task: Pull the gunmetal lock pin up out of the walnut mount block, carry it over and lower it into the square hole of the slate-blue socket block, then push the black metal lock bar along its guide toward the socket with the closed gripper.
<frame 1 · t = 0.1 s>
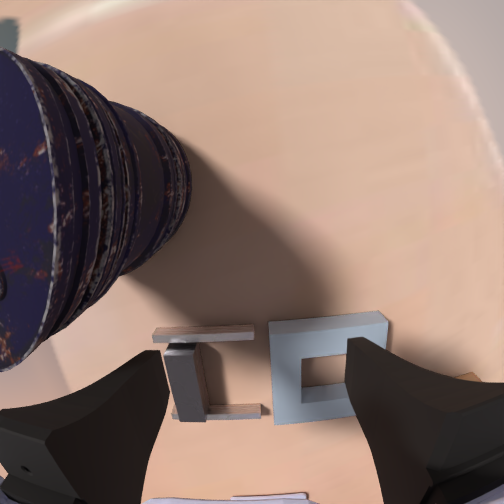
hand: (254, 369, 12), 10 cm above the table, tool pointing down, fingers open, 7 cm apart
socket block: (324, 364, 23), on the table
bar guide: (210, 372, 23), on the table
lock bar: (188, 381, 22), point 1 cm above the table, slide at 0.0 cm
storage jar: (123, 186, 20), on the table
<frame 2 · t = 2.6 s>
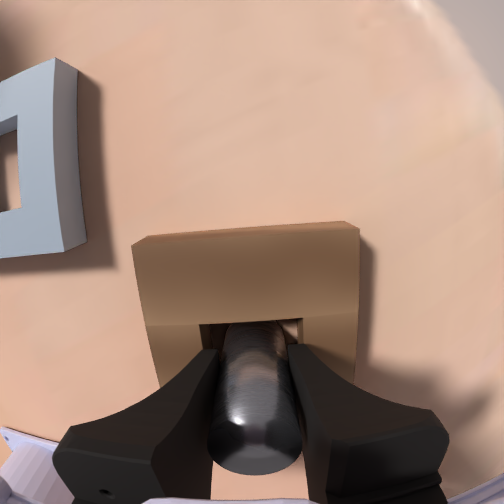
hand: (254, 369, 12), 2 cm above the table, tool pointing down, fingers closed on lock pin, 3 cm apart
socket block: (15, 169, 12), on the table
mount block: (254, 341, 14), on the table
lock pin: (254, 383, 11), in the mount block, touching gripper
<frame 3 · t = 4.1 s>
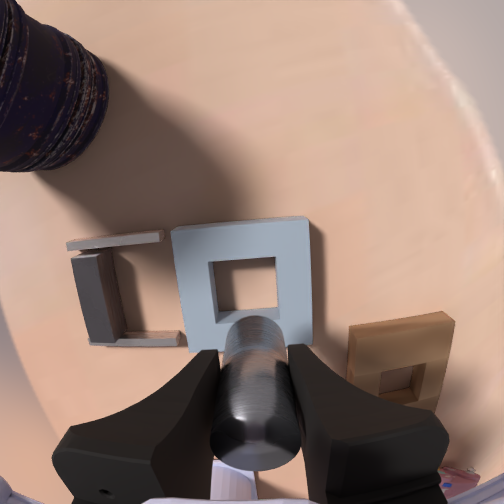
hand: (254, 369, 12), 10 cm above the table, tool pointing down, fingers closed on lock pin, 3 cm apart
socket block: (245, 281, 21), on the table
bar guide: (125, 289, 22), on the table
mount block: (392, 373, 23), on the table
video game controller: (433, 468, 27), on the table
lock bar: (99, 295, 20), point 1 cm above the table, slide at 0.0 cm
lock pin: (255, 382, 11), point 10 cm above the table, touching gripper
storage jar: (55, 107, 19), on the table
when the fingers open (3 cm above the table, at t = 5.7 s): lock pin stays where it is, resting in socket block.
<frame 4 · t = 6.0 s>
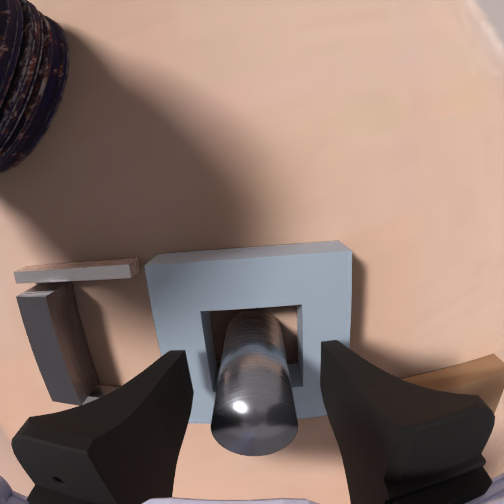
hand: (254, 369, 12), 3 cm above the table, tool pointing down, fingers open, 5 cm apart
socket block: (254, 331, 15), on the table
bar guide: (92, 334, 15), on the table
mount block: (429, 427, 17), on the table
lock bar: (58, 343, 14), point 1 cm above the table, slide at 0.0 cm
lock pin: (254, 372, 12), in the socket block
storage jar: (5, 91, 12), on the table
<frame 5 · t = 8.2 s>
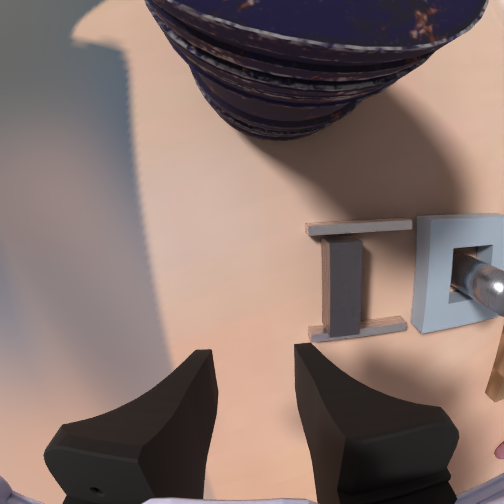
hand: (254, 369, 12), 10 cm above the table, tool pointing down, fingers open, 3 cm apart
socket block: (457, 266, 21), on the table
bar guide: (357, 277, 21), on the table
lock bar: (341, 285, 20), point 1 cm above the table, slide at 0.0 cm
lock pin: (480, 281, 18), in the socket block
storage jar: (276, 70, 18), on the table
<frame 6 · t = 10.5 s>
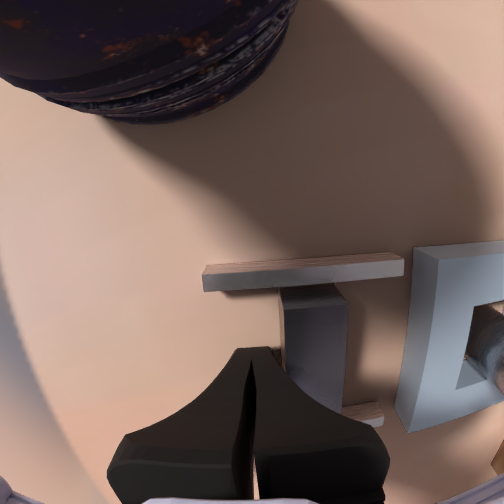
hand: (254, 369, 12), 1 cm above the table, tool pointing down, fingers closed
socket block: (474, 324, 12), on the table
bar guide: (304, 352, 13), on the table
lock bar: (310, 368, 11), point 1 cm above the table, slide at 1.5 cm, touching gripper
storage jar: (166, 15, 10), on the table
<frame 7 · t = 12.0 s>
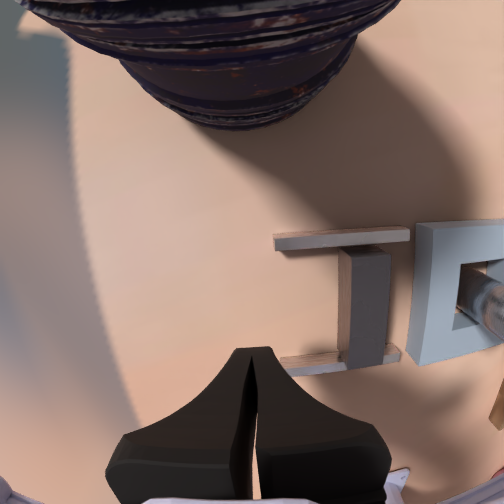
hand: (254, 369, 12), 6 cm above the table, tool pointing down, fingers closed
socket block: (464, 283, 17), on the table
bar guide: (340, 300, 17), on the table
lock bar: (362, 307, 16), point 1 cm above the table, slide at 2.4 cm
lock pin: (492, 304, 14), in the socket block
storage jar: (237, 46, 14), on the table
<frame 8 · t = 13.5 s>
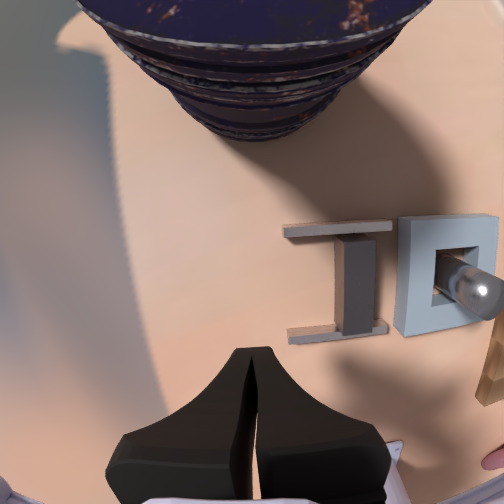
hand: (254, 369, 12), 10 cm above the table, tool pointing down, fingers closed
socket block: (442, 268, 21), on the table
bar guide: (336, 279, 21), on the table
lock bar: (354, 284, 20), point 1 cm above the table, slide at 2.4 cm
lock pin: (465, 283, 18), in the socket block
storage jar: (253, 72, 18), on the table
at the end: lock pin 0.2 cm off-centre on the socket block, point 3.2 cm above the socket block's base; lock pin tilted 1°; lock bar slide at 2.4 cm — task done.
